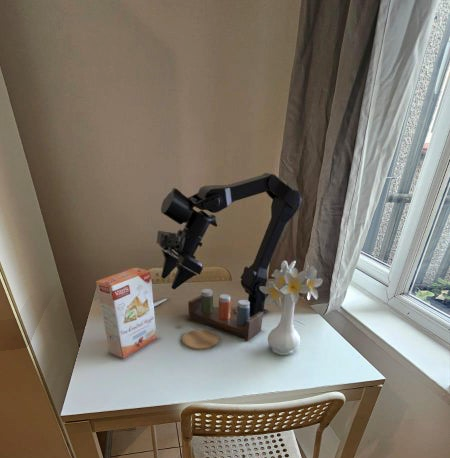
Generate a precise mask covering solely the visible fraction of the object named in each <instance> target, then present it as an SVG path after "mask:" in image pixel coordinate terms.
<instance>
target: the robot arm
mask: <svg viewBox="0 0 450 458" xmlns="http://www.w3.org/2000/svg"><path fill="white" fill-rule="evenodd" d="M263 193H266V195H267V196H268V197H269V198H270V199H271V200H272V201H271V205H270V219H269V222H268V225H267V227H266V230H265V233H264V235H263V237H262V240H261V244H260V245H259V248H258V251H257V253H256V255H255V257H254V261H253V263H252V264H251V265H250V266H249V267H248V266H244V268H243V272H242V274H241V276H240V279H241V280H240V284H241V287H242V289H244V292H245V293H246V294H248V297H247V301H249V302H250V313H249V316H251V317H252V316H254V315H255V314H257V313H259V312H262V313H263V315H265V314H266V313H268V309H266V308H265V305H266V304H265V299H266V297H267V296H268V295H269V294H265V293H263V292H262V291H261V290H260V289H259V287H260V286H264V287H267V284H268V268H269V266H270V263H271V261H272V259H273V255H275V252H276V249H277V246H278V244H279V241H280V240H281V238H282V234H283V232H284V229H285V227H286V226H287V224H288V222H289V221H290V220H291V219H293V217H294V216H295V215H296V214H297V212H298V210H299V208H300V206H301V203H302V196H301V193H300V192H299V190H297V189H293V188H291V187H290V186H289V185H288V184H286V183H285V182H283V180H281V179H280V178H279V177H278V176H277V175H276V174H274V173H269V172H264V173H263V174H261V175H257V176H254V177H250V178H247V179H244V180H240V181H236V182H233V183H230V184H211V185H210V184H209V185H203V186H201V187H200V188H199V189H198V192H196V193H195V194H192V195H191V196H188V197H187V196H186V195H185V194H184V193H182V192H181V191H180V190H179V189H177V188H176V187H173V188H172V190H171V191H170V192H169V193H168V194H166V196H165V197H164V199H163V201H162V203H161V207H160V213H162V214H163V215H165V216H166V217H167V218H169V219H171V220H172V221H174V222H175V223H177V224H178V225H182V224H185V225H184V227H183V228H182V229H181V228H180V229H178V230H177V232H171V231H163V230H157V235H156V244H157V245H158V246H160V248H161V252H162V255H163V258H164V259H163V265H162V271H161V277H160V278H162V279H163V280H164V279H165V280H166V278H168V277H169V275H170V274H171V273H172V272H173V271H174V270H175V268H176V273H175V276H174V278H173V280H172V284H171V286H170V287H171V290H176V289H178V288H179V287H180V286H182V285H183V284H184V283H186V282H187V281H189V280H190V279H192V278H193V277H194V276H195V277H196V276H198V275H201V273H202V271H203V270H204V267H203V263H201V262H200V261H199V260H197V259H196V256H195V254H196V251H197V249H198V248H199V247H202V246H203V242H202V240H203V238H204V236H205V234H206V232H207V230H208V228H209V226H210V225H211V226H213V227H215V228H216V227H217V228H218V222H217V217H216V215H215V214H216V213H219V212H221V211H223V210H224V209H226V208H228V207H229V206H230V205H231V204H232V203H234V202H236V201H240V200H244V199H247V198H250V197H253V196H256V195H257V196H258V195H260V194H263ZM194 208H196V209H198V211H197V210H195V209H194ZM206 211H207V212H209V213H212V214H208V213H207V212H206Z"/></svg>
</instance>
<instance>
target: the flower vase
mask: <svg viewBox="0 0 450 458" xmlns="http://www.w3.org/2000/svg"><path fill="white" fill-rule="evenodd" d="M296 263H297V261H296V260H293V261H292V262H291V263H290V264H288V261H287V260H283V261H281V264H280V269H278V268H277V269H275V270H273V273H271V277H272V278H274V279H275V280H273V281H272V280H267V286H265V287H264V286H260V287H259V289H260V290H261V291H262V292H263V293H265V294H269V295H268V296H267V297H266V299H265V304H264V305H266V306H270V305H271V304H272V303H274V305H275V306H276V308H277V309H278V310H281V309H282V313H281V316H280V320H279V323H278V324H277V326H276V327H274V328H273V329H272V330H271V331H270V332H269V333H268V335H267V343H268V345H269V346H270V347H271V350H272V351H273V352H274V353H275V354H278V355H280V356H281V355H282V356H287V355H290V354H292V353H293V351H295V350H296V349H297V348H298V347H299V346H300V345H301V337H300V335H299V333H298V331H297V330H296V329H295V326H294V315H295V314H294V313H295V306H296V304H297V303H298V302H299V299H300V294H306V299H307V300H308V301H310V300H311V298H312V297H313V299H315V300H318V299H319V292H318V290H317V288H318V287H320V286H322V284H323V278H317V276H318V269H316V267H315V266H314V265H311V266H310V263H309V261H308V259H307V258H305V268H304V269H305V270H302V271H300V272H299V270H298V269H297V268H296V267H295V266H296ZM305 279H306V283H303V282H304V281H305ZM299 293H300V294H299ZM281 299H283V307H282V303H281V302H282V301H281Z"/></svg>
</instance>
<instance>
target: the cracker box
mask: <svg viewBox="0 0 450 458" xmlns="http://www.w3.org/2000/svg"><path fill="white" fill-rule="evenodd" d="M95 285H96V289H97V294H98V300H99V305H100V310H101V314H102V320H103V326H104V331H105V337H106V341H107V346H108V352H109V353H110V354H111V355H114V356H116V357H119V358H120V359H125V358H127V357H129V356H130V355H132V354H134V353H135V352H137V351H139V350H140V349H142V348H144V347H145V346H147V345H148V344H150V343H152V342H154V341H156V340H157V328H156V317H155V307H154V305H153V303H154V296H153V295H154V294H153V284H152V273H151V271H150V270H147V269H144V268H140V267H137V266H136V267H133V268H129V269H126V270H124V271H121V272H118V273H115V274H113V275H109V276H107V277H103V278H101V279H98V280H96V281H95Z"/></svg>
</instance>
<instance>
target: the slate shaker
mask: <svg viewBox="0 0 450 458" xmlns="http://www.w3.org/2000/svg"><path fill="white" fill-rule="evenodd" d="M236 308H237V309H236V315H237V324H238V325H240V326H246V320H248V319H249V318H250V315H249V313H250V302H249V301H248V299H240V300H238V302H237V307H236Z"/></svg>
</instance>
